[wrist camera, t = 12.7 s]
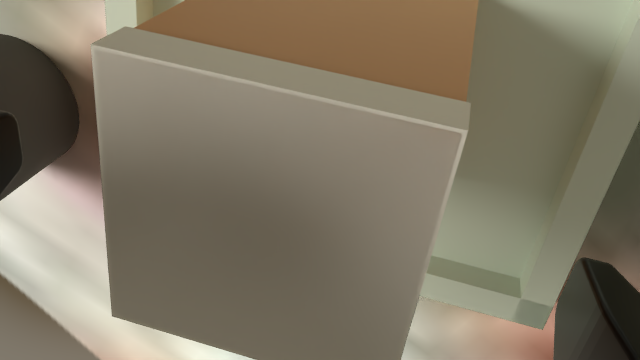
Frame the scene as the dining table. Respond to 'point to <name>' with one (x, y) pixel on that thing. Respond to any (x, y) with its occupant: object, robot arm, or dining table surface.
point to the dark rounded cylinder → (36, 106)
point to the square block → (281, 168)
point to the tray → (523, 146)
